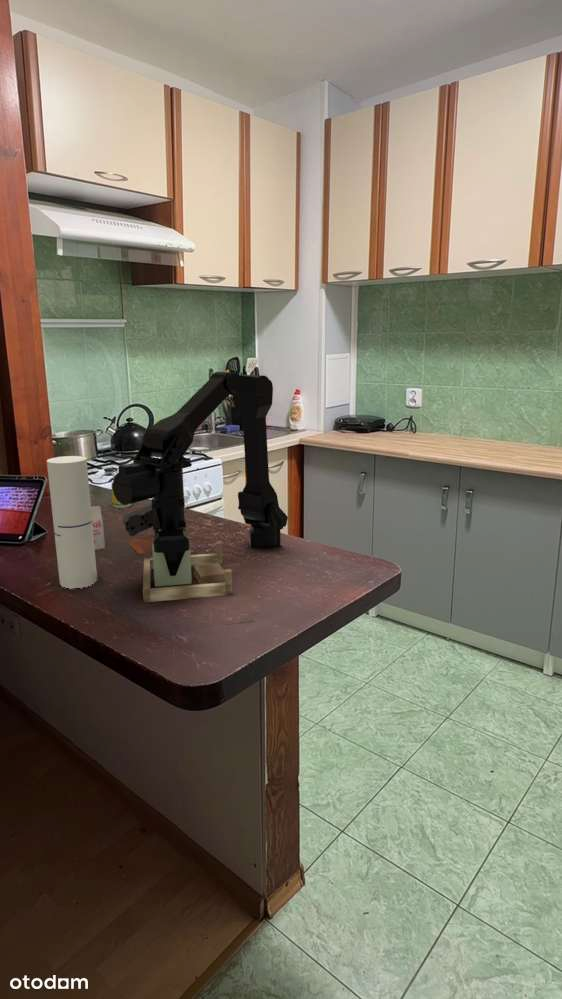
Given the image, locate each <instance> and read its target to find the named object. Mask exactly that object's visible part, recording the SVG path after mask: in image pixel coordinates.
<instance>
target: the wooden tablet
mask: <svg viewBox="0 0 562 999" xmlns="http://www.w3.org/2000/svg"><path fill="white" fill-rule="evenodd" d="M154 536H155V533H151V534H146V535H141V536H135V537H133V538H130V539H129V544H130V546H131V547H132V548H133V549H134V551H135V552H136V553H137V554H144V553H145V554H146V553H153V550H152V538H154Z"/></svg>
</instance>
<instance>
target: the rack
mask: <svg viewBox="0 0 562 999" xmlns="http://www.w3.org/2000/svg"><path fill="white" fill-rule="evenodd" d="M190 555H191V567H194V566H198V565H206V564H214V563H219V564H220V565H223V564H224V562H223V561H224V559H223V558H224V557H223V542H222V541H215V553H214V552H213V553H203V554H202V553H201V554H199V553H198V554H190ZM152 570H154V566H153V557H146V558H143V576H142V577H143V579H142V580H143V582H142V596H143V597H142V598H143V600H142V601H143V603H153V602H163V601H174V600H175V601H176V600H186V599H197V598H198V599H199V598H208V597H209V598H212V597H220V596H222V597H223V596H232V595H233V571H232V569H230V568H228V569H224V571H225V582H223V583H211V584H199V583H198V584H186V585H174V586H162V587H154V588H153V587H152V588H151V581H152V580H151V573H152V572H151V571H152Z"/></svg>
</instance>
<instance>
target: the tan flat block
mask: <svg viewBox="0 0 562 999" xmlns="http://www.w3.org/2000/svg"><path fill="white" fill-rule="evenodd" d="M193 576H194V578H195V579H196V580H197V582H198V585H199V584H211V583H223V582H225V569H223V567H222V566H221V564H219V563H214V564H206V565H198V566H193Z"/></svg>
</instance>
